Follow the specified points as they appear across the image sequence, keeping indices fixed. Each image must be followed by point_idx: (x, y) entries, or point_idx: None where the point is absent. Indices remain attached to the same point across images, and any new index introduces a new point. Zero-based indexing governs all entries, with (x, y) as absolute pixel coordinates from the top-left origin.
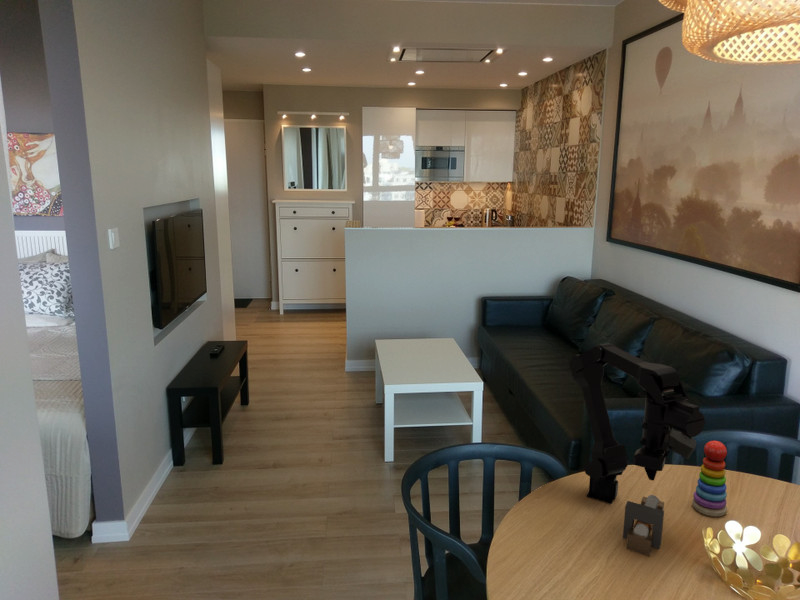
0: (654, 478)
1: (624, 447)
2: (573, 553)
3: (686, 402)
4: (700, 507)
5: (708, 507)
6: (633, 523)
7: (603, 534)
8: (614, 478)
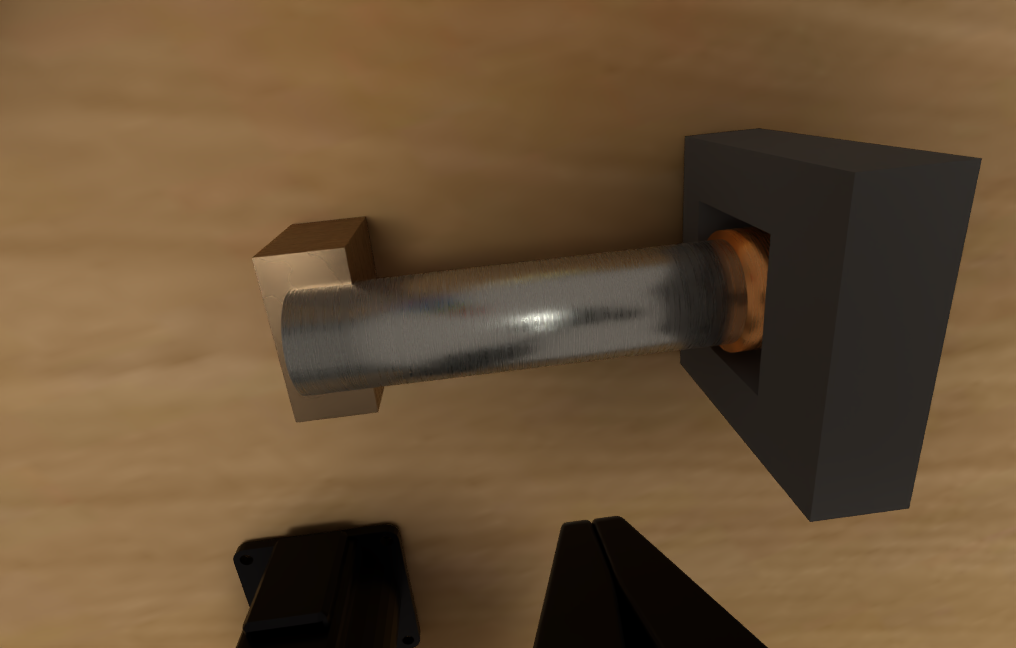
0: (640, 538)
1: None
2: (976, 489)
3: None
4: None
5: None
6: (741, 356)
7: (739, 444)
8: None
